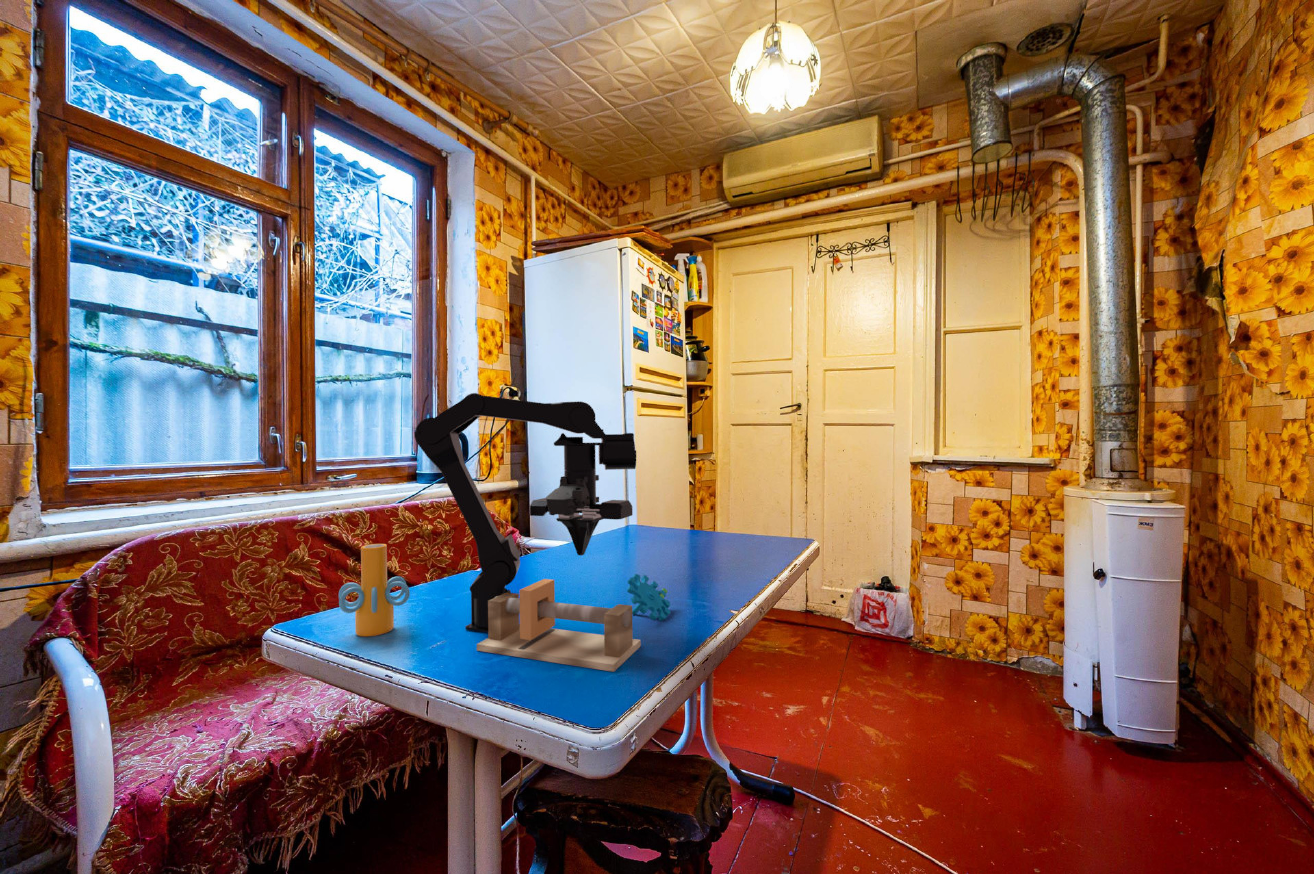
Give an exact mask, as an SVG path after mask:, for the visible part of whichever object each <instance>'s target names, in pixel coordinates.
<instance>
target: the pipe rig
mask: <svg viewBox="0 0 1314 874" xmlns="http://www.w3.org/2000/svg"><path fill="white" fill-rule="evenodd" d="M537 610H538V617H540V616H541V617H549V618H555V619H559V620H567V621H574V622H582V623H583V622H585V623H592V624H599V625H603V629H604V630H603V631H604V632H603V634H599V633H591V632H582V631H573V630H567V629H561V628H560V629H559V628H553V627H551V628H550V629H548V630H546V631H545V632H543V633H542V634H540V635H538V636H537V637H535V638H534V639H532V640H527V639H520V593H515V592H511V593H508V592H507V593H504V594H502V595H500V596H496V597H495V598H493V599H491V600H489V601H488V632H487V634H488V636H487V637H488V638H485V639H484V640H482V641H480V642H478V643H476V651H478V652H479V651H480V652H484V653H490V654H491V653H492V654H496V655H503V656H511V657H517V658H522V659H530V660H535V661H543V662H548V663H553V664H554V663H556V664H562V665H569V666H573V667H574V666H575V667H581V668H588V669H594V670H601V671H605V672H606V671H607V672H616V670H618V669H619V667H621V666H622V665H623V664H624V663H625V662H626V661H627V660H628V659H630V657H631V656H632V655H633V654H634V653H636V651H638V650H639V649H640V647H641V646H642V643H641V639H636V638H633V636H634V635H633V614H632V610H633V605H631V604H630V605H629V604H628V605H627V604H620V603H618V604H616V605H615V606H614V607H612V608H611V607H610V608H609V607H601V606H592V605H582V604H575V603H565V602H556V601H555V602H548V601H542V600H540V601H538V602H537Z"/></svg>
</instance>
